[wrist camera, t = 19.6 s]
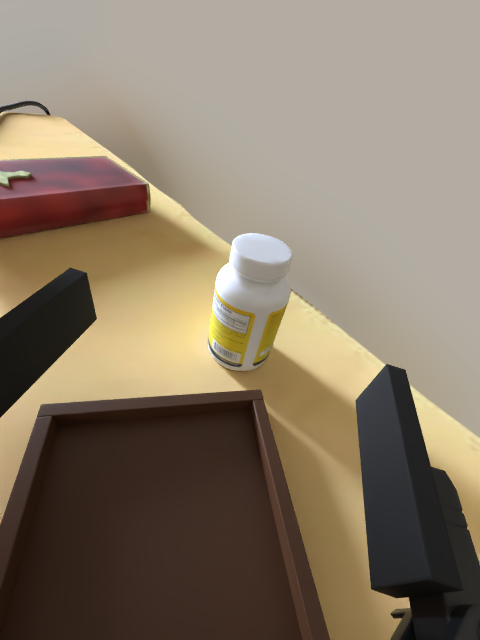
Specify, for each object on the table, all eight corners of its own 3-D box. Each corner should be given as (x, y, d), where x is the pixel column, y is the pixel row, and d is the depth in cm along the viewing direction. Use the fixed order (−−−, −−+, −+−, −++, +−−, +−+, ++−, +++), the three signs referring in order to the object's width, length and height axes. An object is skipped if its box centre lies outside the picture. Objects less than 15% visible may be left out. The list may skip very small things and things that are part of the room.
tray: (48, 417, 18) (40, 404, 16) (256, 401, 21) (260, 389, 20) (-178, 1151, 6) (-253, 1265, 5) (368, 842, 9) (394, 869, 8)
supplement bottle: (260, 326, 27) (290, 231, 21) (274, 372, 23) (317, 274, 17) (204, 325, 26) (217, 224, 19) (209, 374, 22) (228, 269, 16)
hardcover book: (150, 213, 41) (149, 182, 38) (-37, 247, 28) (-60, 204, 25) (109, 182, 46) (105, 154, 43) (-66, 199, 33) (-88, 160, 30)
